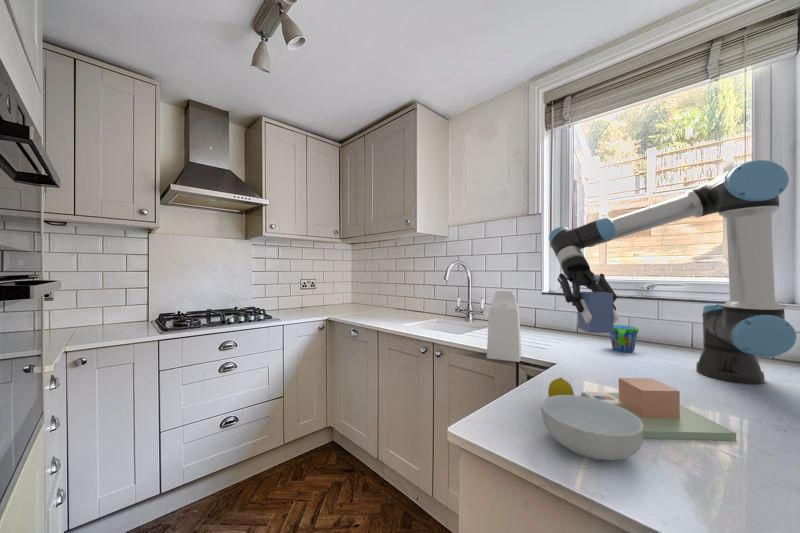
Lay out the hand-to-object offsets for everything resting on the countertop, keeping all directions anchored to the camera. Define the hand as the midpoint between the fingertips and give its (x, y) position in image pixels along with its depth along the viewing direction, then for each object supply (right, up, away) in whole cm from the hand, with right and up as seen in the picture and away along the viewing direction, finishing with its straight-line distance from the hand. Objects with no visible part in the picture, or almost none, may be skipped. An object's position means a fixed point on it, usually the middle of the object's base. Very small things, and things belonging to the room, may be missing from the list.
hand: (602, 320), depth 87 cm
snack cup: (+39, -21, +46) cm, 63 cm away
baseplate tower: (+2, -20, -14) cm, 24 cm away
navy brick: (0, -4, +4) cm, 5 cm away
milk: (-15, -21, +37) cm, 45 cm away
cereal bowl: (-20, -20, -27) cm, 39 cm away
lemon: (-17, -20, -11) cm, 29 cm away
